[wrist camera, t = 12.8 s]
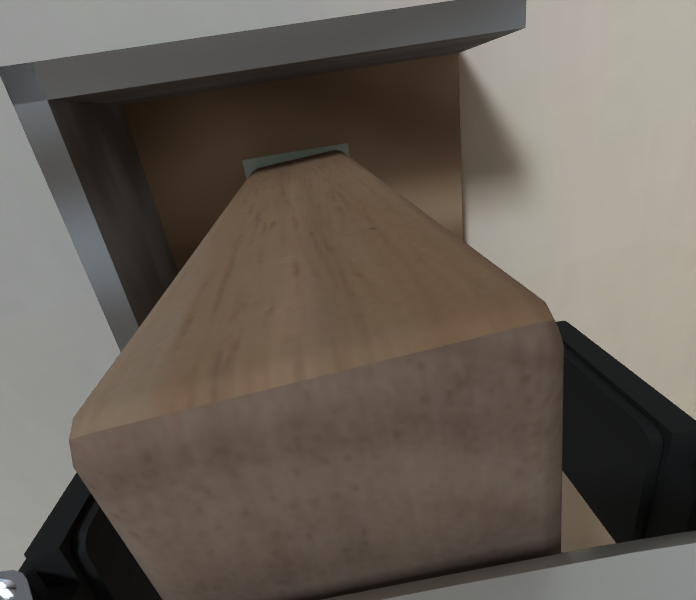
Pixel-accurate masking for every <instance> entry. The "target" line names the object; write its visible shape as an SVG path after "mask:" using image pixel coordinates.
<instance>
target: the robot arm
mask: <svg viewBox="0 0 696 600" xmlns="http://www.w3.org/2000/svg"><path fill="white" fill-rule="evenodd" d="M556 324H557V326H558V329H559V332H560V335H561V338H562V341H563V344H564V363H563V432H562V470H563V471H564V473H565V474H566V476H567V477H568V478H569V480H570V481H571V482H572V484H573V485H574V486H575V488H576V489H577V490H578V492H579V493H580V495H581V496H582V497H583V499H584V500H585V501H586V503H587V504H588V505H589V507H590V508H591V509H592V511H593V512H594V513H595V515H596V516H597V518H598V519H599V520H600V522H601V523H602V524H603V526H604V527H605V528H606V530H607V531H608V532H609V534H610V535H611V537H612V538H613V539H614V541H615V542H616V544H610V545H605V546H599V547H593V548H588V549H583V550H577V551H572V552H567V553H561V554H556V555H551V556H545V557H540V558H535V559H529V560H524V561H519V562H514V563H508V564H503V565H498V566H492V567H487V568H482V569H476V570H471V571H466V572H461V573H455V574H450V575H445V576H440V577H435V578H430V579H424V580H419V581H414V582H409V583H404V584H399V585H393V586H388V587H383V588H378V589H373V590H368V591H363V592H358V593H352V594H347V595H342V596H337V597H332V598H327V599H322V600H696V420H694V419H693V418H692V417H690V416H689V415H688V414H686V413H685V412H684V411H683V410H681V409H680V408H679V407H677V406H676V405H675V404H673V403H672V402H671V401H670V400H668V399H667V398H666V397H664V396H663V395H662V394H660V393H659V392H658V391H657V390H655V389H654V388H653V387H651V386H650V385H649V384H647V383H646V382H645V381H643V380H642V379H641V378H640V377H638V376H637V375H636V374H634V373H633V372H632V371H630V370H629V369H628V368H627V367H625V366H624V365H623V364H621V363H620V362H619V361H617V360H616V359H615V358H614V357H612V356H611V355H610V354H608V353H607V352H606V351H604V350H603V349H602V348H601V347H599V346H598V345H597V344H595V343H594V342H593V341H591V340H590V339H589V338H588V337H586V336H585V335H584V334H582V333H581V332H580V331H578V330H577V329H576V328H574V327H573V326H572V325H571V324H569V323H568V322H566V321H558V322H556ZM24 555H25V557H26V560H25V561H24V563H23V565H22V566H21V568H20V569H19V571H15V570H10V571H1V572H0V600H163V599H162V598H161V596H160V595H159V593H158V592H157V591H156V589H155V588H154V586H153V585H152V583H151V582H150V580H149V579H148V577H147V576H146V574H145V573H144V571H143V570H142V568H141V567H140V565H139V564H138V562H137V561H136V559H135V558H134V556H133V555H132V553H131V552H130V550H129V549H128V547H127V546H126V544H125V543H124V541H123V540H122V539H121V537H120V536H119V534H118V533H117V531H116V530H115V528H114V527H113V525H112V524H111V522H110V521H109V519H108V518H107V516H106V515H105V513H104V512H103V510H102V509H101V507H100V506H99V504H98V503H97V501H96V500H95V498H94V497H93V495H92V494H91V492H90V491H89V489H88V488H87V487H86V485H85V484H84V482H83V481H82V479H81V478H80V476H79V475H78V473H76V474H75V476H74V478H73V479H72V481H71V482H70V484H69V485H68V487H67V488H66V490H65V492H64V493H63V495H62V496H61V498H60V499H59V501H58V502H57V504H56V506H55V507H54V509H53V510H52V512H51V513H50V515H49V516H48V518H47V520H46V521H45V523H44V524H43V526H42V527H41V529H40V530H39V532H38V533H37V535H36V537H35V538H34V540H33V541H32V543H31V544H30V546H29V547H28V549H27V551H26V552H25V554H24Z"/></svg>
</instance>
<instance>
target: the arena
mask: <svg viewBox="0 0 696 600" xmlns="http://www.w3.org/2000/svg"><path fill="white" fill-rule="evenodd" d="M525 24H526V0H454V1H447V2H440V3H433V4H427V5H420V6H413V7H406V8H399V9H392V10H386V11H379V12H372V13H365V14H358V15H352V16H345V17H338V18H331V19H324V20H317V21H311V22H304V23H297V24H290V25H283V26H276V27H270V28H263V29H256V30H249V31H242V32H235V33H229V34H222V35H215V36H208V37H201V38H194V39H188V40H181V41H174V42H167V43H160V44H153V45H147V46H140V47H133V48H126V49H119V50H112V51H106V52H99V53H92V54H85V55H78V56H71V57H65V58H58V59H51V60H44V61H37V62H30V63H24V64H17V65H10V66H3V67H0V76H1V79H2V81H3V83H4V85H5V88H6V90H7V92H8V95H9V97H10V99H11V101H12V104H13V106H14V108H15V111H16V113H17V115H18V117H19V120H20V122H21V124H22V127H23V129H24V131H25V134H26V136H27V138H28V140H29V143H30V145H31V147H32V150H33V152H34V154H35V156H36V159H37V161H38V163H39V166H40V168H41V170H42V172H43V175H44V177H45V179H46V182H47V184H48V186H49V189H50V191H51V193H52V195H53V198H54V200H55V202H56V205H57V207H58V209H59V211H60V214H61V216H62V218H63V221H64V223H65V225H66V227H67V230H68V232H69V234H70V237H71V239H72V241H73V244H74V246H75V248H76V250H77V253H78V255H79V257H80V260H81V262H82V264H83V266H84V269H85V271H86V273H87V276H88V278H89V280H90V282H91V285H92V287H93V289H94V292H95V294H96V296H97V299H98V301H99V303H100V305H101V308H102V310H103V312H104V315H105V317H106V319H107V321H108V324H109V326H110V328H111V331H112V333H113V335H114V338H115V340H116V342H117V344H118V347H119V349H120V351H121V352H122V350H123V349H124V348H125V346H126V345H127V343H128V342H129V341H130V339H131V338H132V337H133V335H134V334H135V332H136V331H137V330H138V328H139V327H140V326H141V324H142V323H143V321H144V320H145V319H146V317H147V316H148V315H149V313H150V312H151V310H152V309H153V308H154V306H155V305H156V304H157V302H158V301H159V299H160V298H161V297H162V295H163V294H164V293H165V291H166V290H167V288H168V287H169V286H170V284H171V283H172V282H173V280H174V279H175V278H176V276H177V275H178V273H179V272H180V271H181V269H182V268H183V267H184V265H185V264H186V262H187V261H188V260H189V258H190V257H191V256H192V254H193V253H194V251H195V250H196V249H197V247H198V246H199V245H200V243H201V242H202V240H203V239H204V238H205V236H206V235H207V234H208V232H209V231H210V229H211V228H212V227H213V225H214V224H215V223H216V221H217V220H218V218H219V217H220V216H221V214H222V213H223V212H224V210H225V209H226V207H227V206H228V205H229V203H230V202H231V200H232V199H233V198H234V196H235V195H236V194H237V192H238V191H239V189H240V188H241V187H242V185H243V184H244V183H245V181H246V180H247V178H248V177H249V176H250V174H251V173H252V172H253V171H254V170H256V169H257V168H260V167H265V166H269V165H273V164H277V163H282V162H286V161H290V160H294V159H299V158H303V157H307V156H311V155H316V154H320V153H324V152H328V151H333V150H339V151H342V152H344V153H345V154H346V155H348V156H349V157H351V158H352V159H353V160H355V161H356V162H357V163H359V164H360V165H361V166H363V167H364V168H365V169H367V170H368V171H369V172H371V173H372V174H373V175H375V176H376V177H377V178H379V179H380V180H381V181H383V182H384V183H386V184H387V185H388V186H390V187H391V188H392V189H394V190H395V191H396V192H398V193H399V194H400V195H402V196H403V197H404V198H406V199H407V200H408V201H410V202H411V203H412V204H414V205H415V206H417V207H418V208H419V209H421V210H422V211H423V212H425V213H426V214H427V215H429V216H430V217H431V218H433V219H434V220H435V221H437V222H438V223H439V224H441V225H442V226H443V227H445V228H446V229H447V230H449V231H450V232H452V233H453V234H454V235H456V236H457V237H458V238H460V239H461V240H462V241H463V218H462V181H461V145H460V108H459V71H458V53H460V52H462V51H465V50H468V49H470V48H473V47H476V46H478V45H481V44H484V43H486V42H489V41H491V40H494V39H497V38H499V37H502V36H505V35H507V34H510V33H513V32H515V31H518V30H521V29H523V28H525Z"/></svg>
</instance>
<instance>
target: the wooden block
mask: <svg viewBox="0 0 696 600" xmlns="http://www.w3.org/2000/svg"><path fill="white" fill-rule="evenodd" d="M563 363H564V344H563V341H562V338H561V335H560V332H559V329H558V326H557V324H556V322H555V320H554V318H553V316H552V314H551V312H550V310H549V308H548V306H547V304H546V303H545V301H543V300H542V299H540V298H539V297H538V296H536V295H535V294H534V293H532V292H531V291H530V290H528V289H527V288H526V287H524V286H523V285H522V284H520V283H519V282H518V281H516V280H515V279H514V278H512V277H511V276H509V275H508V274H507V273H505V272H504V271H503V270H501V269H500V268H499V267H497V266H496V265H495V264H493V263H492V262H491V261H489V260H488V259H487V258H485V257H484V256H483V255H481V254H480V253H478V252H477V251H476V250H474V249H473V248H472V247H470V246H469V245H468V244H466V243H465V242H464V241H462V240H461V239H460V238H458V237H457V236H456V235H454V234H453V233H452V232H450V231H449V230H447V229H446V228H445V227H443V226H442V225H441V224H439V223H438V222H437V221H435V220H434V219H433V218H431V217H430V216H429V215H427V214H426V213H425V212H423V211H422V210H421V209H419V208H418V207H417V206H415V205H414V204H412V203H411V202H410V201H408V200H407V199H406V198H404V197H403V196H402V195H400V194H399V193H398V192H396V191H395V190H394V189H392V188H391V187H390V186H388V185H387V184H386V183H384V182H383V181H381V180H380V179H379V178H377V177H376V176H375V175H373V174H372V173H371V172H369V171H368V170H367V169H365V168H364V167H363V166H361V165H360V164H359V163H357V162H356V161H355V160H353V159H352V158H351V157H349V156H348V155H346V154H345V153H344V152H342V151H339V150H333V151H328V152H324V153H320V154H316V155H311V156H307V157H303V158H299V159H294V160H290V161H286V162H282V163H277V164H273V165H269V166H265V167H260V168H257V169H256V170H254V171H253V172H252V173H251V174H250V176H249V177H248V178H247V180H246V181H245V183H244V184H243V185H242V187H241V188H240V189H239V191H238V192H237V194H236V195H235V196H234V198H233V199H232V200H231V202H230V203H229V205H228V206H227V207H226V209H225V210H224V212H223V213H222V214H221V216H220V217H219V218H218V220H217V221H216V223H215V224H214V225H213V227H212V228H211V229H210V231H209V232H208V234H207V235H206V236H205V238H204V239H203V240H202V242H201V243H200V245H199V246H198V247H197V249H196V250H195V251H194V253H193V254H192V256H191V257H190V258H189V260H188V261H187V262H186V264H185V265H184V267H183V268H182V269H181V271H180V272H179V273H178V275H177V276H176V278H175V279H174V280H173V282H172V283H171V284H170V286H169V287H168V288H167V290H166V291H165V293H164V294H163V295H162V297H161V298H160V299H159V301H158V302H157V304H156V305H155V306H154V308H153V309H152V310H151V312H150V313H149V315H148V316H147V317H146V319H145V320H144V321H143V323H142V324H141V326H140V327H139V328H138V330H137V331H136V332H135V334H134V335H133V337H132V338H131V339H130V341H129V342H128V343H127V345H126V346H125V348H124V349H123V350H122V352H121V353H120V354H119V356H118V357H117V359H116V360H115V361H114V363H113V364H112V365H111V367H110V368H109V370H108V371H107V372H106V374H105V375H104V376H103V378H102V379H101V381H100V382H99V383H98V385H97V386H96V387H95V389H94V390H93V392H92V393H91V394H90V396H89V397H88V398H87V400H86V401H85V403H84V404H83V405H82V407H81V408H80V409H79V411H78V412H77V414H76V415H75V416H74V418H73V422H72V427H71V432H70V437H69V443H70V450H71V456H72V462H73V467H74V469H75V470H76V472H77V473H78V475H79V476H80V478H81V479H82V481H83V482H84V484H85V485H86V487H87V488H88V489H89V491H90V492H91V494H92V495H93V497H94V498H95V500H96V501H97V503H98V504H99V506H100V507H101V509H102V510H103V512H104V513H105V515H106V516H107V518H108V519H109V521H110V522H111V524H112V525H113V527H114V528H115V530H116V531H117V533H118V534H119V536H120V537H121V539H122V540H123V541H124V543H125V544H126V546H127V547H128V549H129V550H130V552H131V553H132V555H133V556H134V558H135V559H136V561H137V562H138V564H139V565H140V567H141V568H142V570H143V571H144V573H145V574H146V576H147V577H148V579H149V580H150V582H151V583H152V585H153V586H154V588H155V589H156V591H157V592H158V593H159V595H160V596H161V598H162V599H163V600H322V599H327V598H332V597H337V596H342V595H347V594H352V593H358V592H363V591H368V590H373V589H378V588H383V587H388V586H393V585H399V584H404V583H409V582H414V581H419V580H424V579H430V578H435V577H440V576H445V575H450V574H455V573H461V572H466V571H471V570H476V569H482V568H487V567H492V566H498V565H503V564H508V563H514V562H519V561H524V560H529V559H535V558H540V557H545V556H551V555H556V554H561V501H562V432H563Z"/></svg>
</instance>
